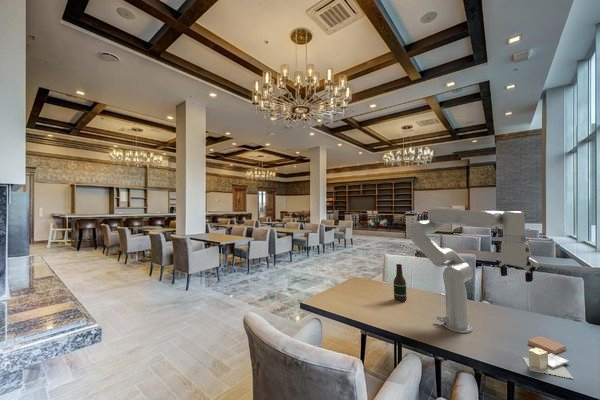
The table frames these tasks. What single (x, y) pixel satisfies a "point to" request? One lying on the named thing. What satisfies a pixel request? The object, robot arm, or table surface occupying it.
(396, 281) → the beer bottle
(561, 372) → the mat
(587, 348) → the table surface
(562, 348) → the tile
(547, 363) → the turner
